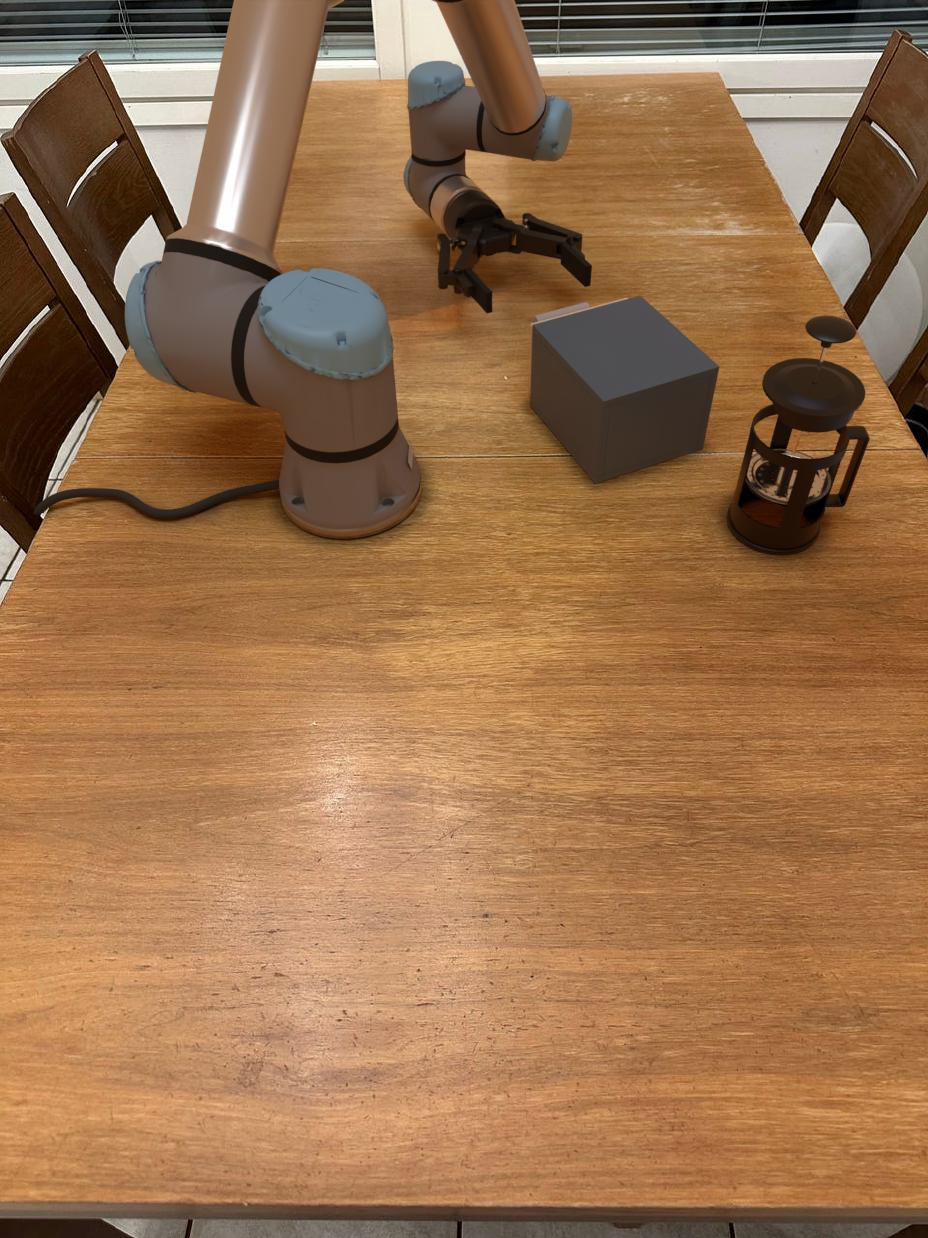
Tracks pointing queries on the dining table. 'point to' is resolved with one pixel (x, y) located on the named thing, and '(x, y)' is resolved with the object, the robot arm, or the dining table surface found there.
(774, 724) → the dining table surface
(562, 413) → the cabinet
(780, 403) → the french press
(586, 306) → the drawer
